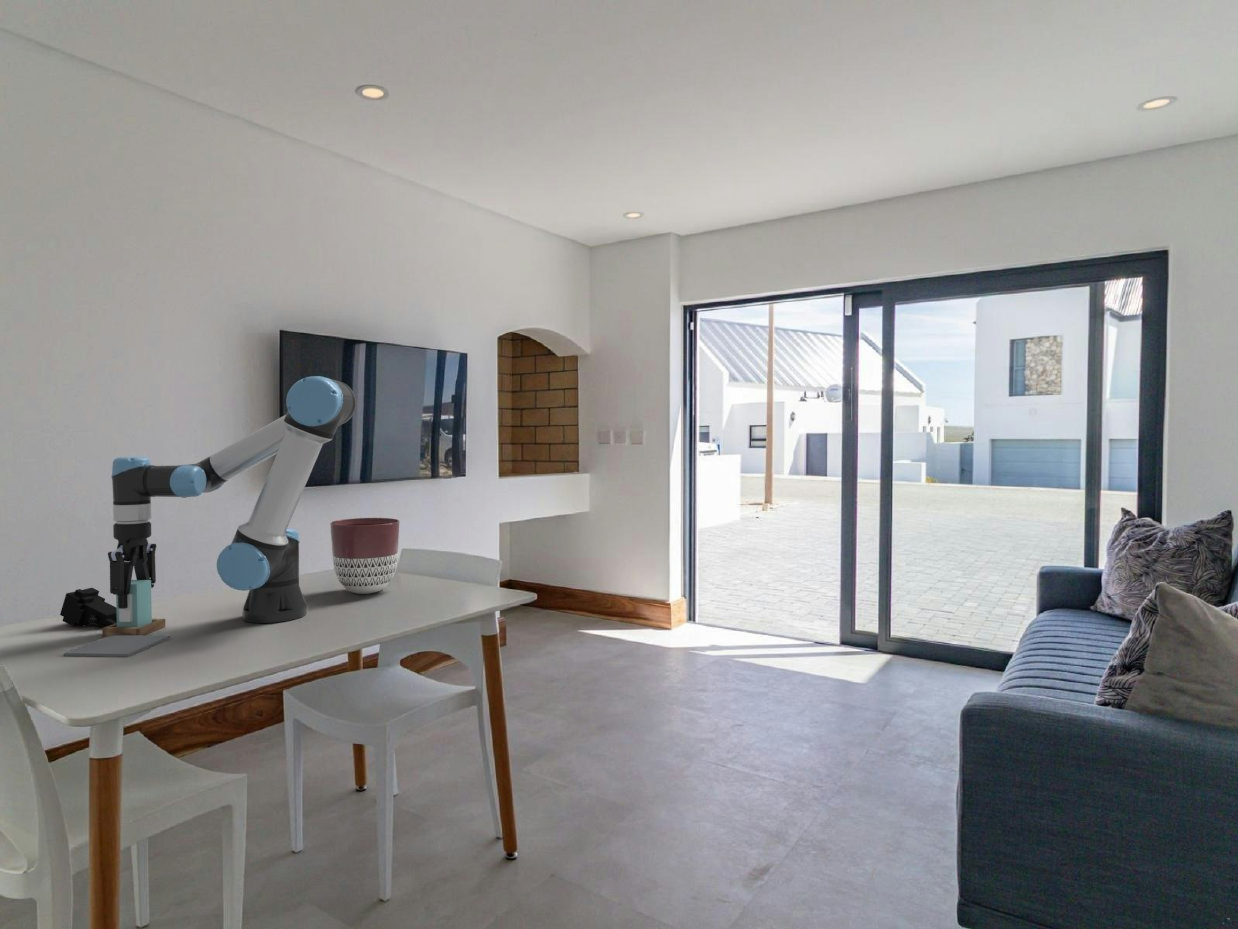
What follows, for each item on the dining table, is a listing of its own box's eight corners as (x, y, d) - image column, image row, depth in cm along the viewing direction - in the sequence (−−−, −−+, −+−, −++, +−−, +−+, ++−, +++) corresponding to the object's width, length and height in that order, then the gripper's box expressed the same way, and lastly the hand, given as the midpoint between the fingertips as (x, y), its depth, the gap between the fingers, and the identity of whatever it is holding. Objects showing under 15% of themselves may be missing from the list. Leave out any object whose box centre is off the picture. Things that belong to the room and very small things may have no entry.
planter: (317, 598, 209) (316, 524, 208) (353, 584, 228) (352, 517, 227) (380, 601, 206) (379, 526, 205) (410, 587, 225) (410, 518, 224)
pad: (170, 638, 168) (170, 635, 168) (128, 656, 154) (128, 654, 154) (111, 637, 168) (111, 634, 168) (63, 655, 154) (63, 653, 154)
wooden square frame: (165, 626, 177) (165, 618, 177) (140, 637, 168) (140, 628, 168) (129, 626, 178) (129, 618, 178) (102, 636, 169) (102, 628, 169)
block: (151, 629, 175) (151, 580, 175) (137, 634, 170) (136, 584, 170) (131, 628, 176) (130, 579, 175) (117, 634, 171) (115, 584, 170)
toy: (112, 614, 172) (63, 590, 175) (103, 645, 173) (54, 620, 176) (144, 605, 181) (97, 582, 184) (135, 634, 182) (88, 611, 185)
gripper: (142, 517, 181) (144, 608, 182) (88, 526, 163) (90, 628, 164) (172, 517, 181) (173, 609, 182) (120, 526, 163) (123, 628, 164)
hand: (134, 618), depth 173 cm, fingers closed on block, 5 cm apart
